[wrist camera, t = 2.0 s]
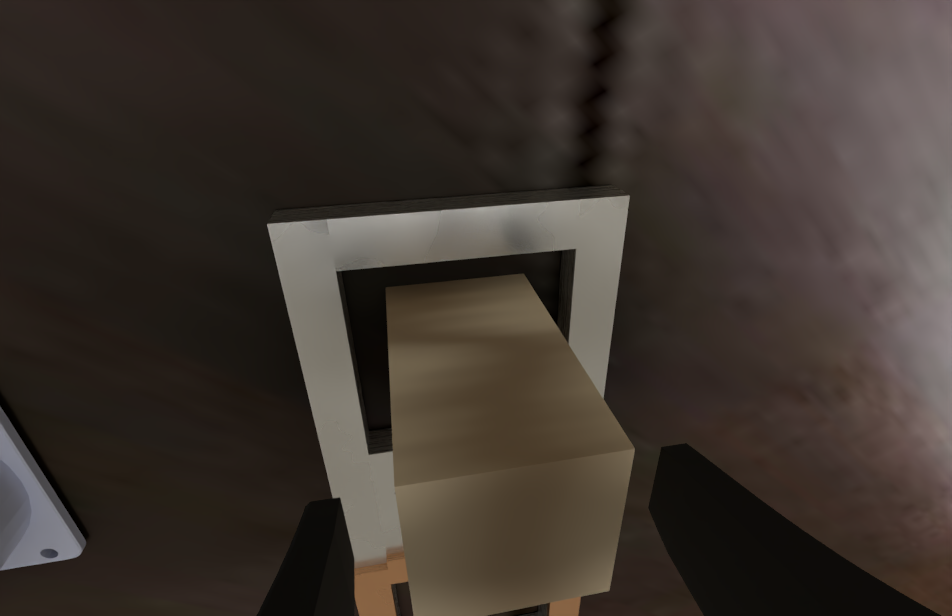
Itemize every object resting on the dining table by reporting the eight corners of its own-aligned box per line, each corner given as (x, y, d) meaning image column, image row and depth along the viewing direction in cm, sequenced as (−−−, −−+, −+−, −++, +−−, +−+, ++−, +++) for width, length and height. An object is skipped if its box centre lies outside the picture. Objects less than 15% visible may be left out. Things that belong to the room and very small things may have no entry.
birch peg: (399, 398, 18) (415, 629, 11) (385, 287, 16) (394, 487, 9) (520, 382, 18) (609, 590, 11) (523, 273, 16) (635, 449, 9)
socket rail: (378, 660, 25) (378, 694, 24) (275, 210, 14) (264, 228, 12) (563, 622, 27) (573, 651, 26) (612, 184, 15) (634, 198, 14)
